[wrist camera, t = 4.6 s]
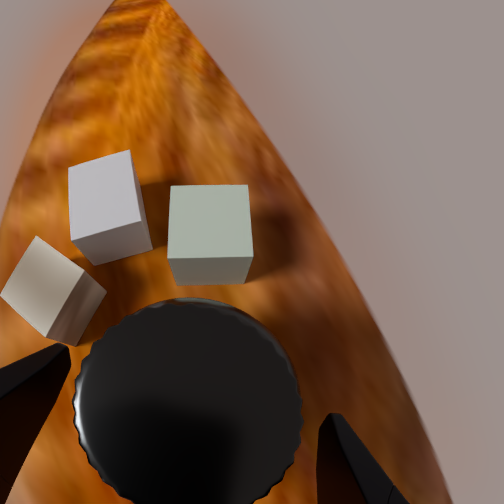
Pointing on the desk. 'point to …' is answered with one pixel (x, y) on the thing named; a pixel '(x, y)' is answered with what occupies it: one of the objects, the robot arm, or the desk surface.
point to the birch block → (53, 293)
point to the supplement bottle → (189, 405)
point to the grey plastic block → (107, 209)
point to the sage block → (209, 234)
